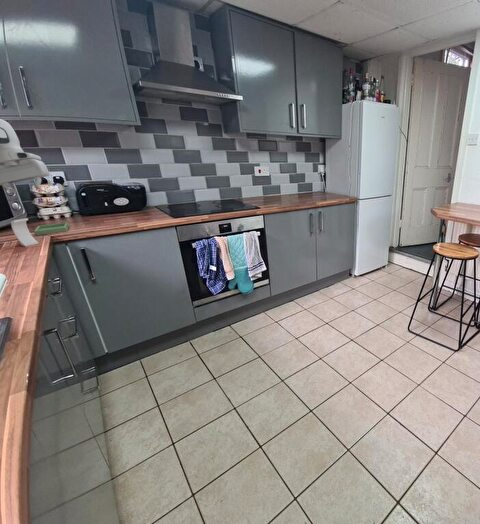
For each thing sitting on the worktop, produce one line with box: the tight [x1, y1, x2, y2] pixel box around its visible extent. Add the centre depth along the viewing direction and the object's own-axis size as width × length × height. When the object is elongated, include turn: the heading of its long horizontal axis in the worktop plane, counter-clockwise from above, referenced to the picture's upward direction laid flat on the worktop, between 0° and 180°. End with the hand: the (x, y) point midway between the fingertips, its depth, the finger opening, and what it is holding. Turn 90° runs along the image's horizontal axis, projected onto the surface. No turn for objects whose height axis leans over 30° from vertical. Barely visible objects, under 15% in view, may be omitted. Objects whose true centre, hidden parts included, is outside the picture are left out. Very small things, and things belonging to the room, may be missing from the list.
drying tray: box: [33, 221, 70, 236], centre depth 152 cm, size 12×12×2 cm
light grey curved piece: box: [10, 217, 40, 247], centre depth 131 cm, size 5×6×12 cm
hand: (26, 190), depth 129 cm, fingers open, 8 cm apart
